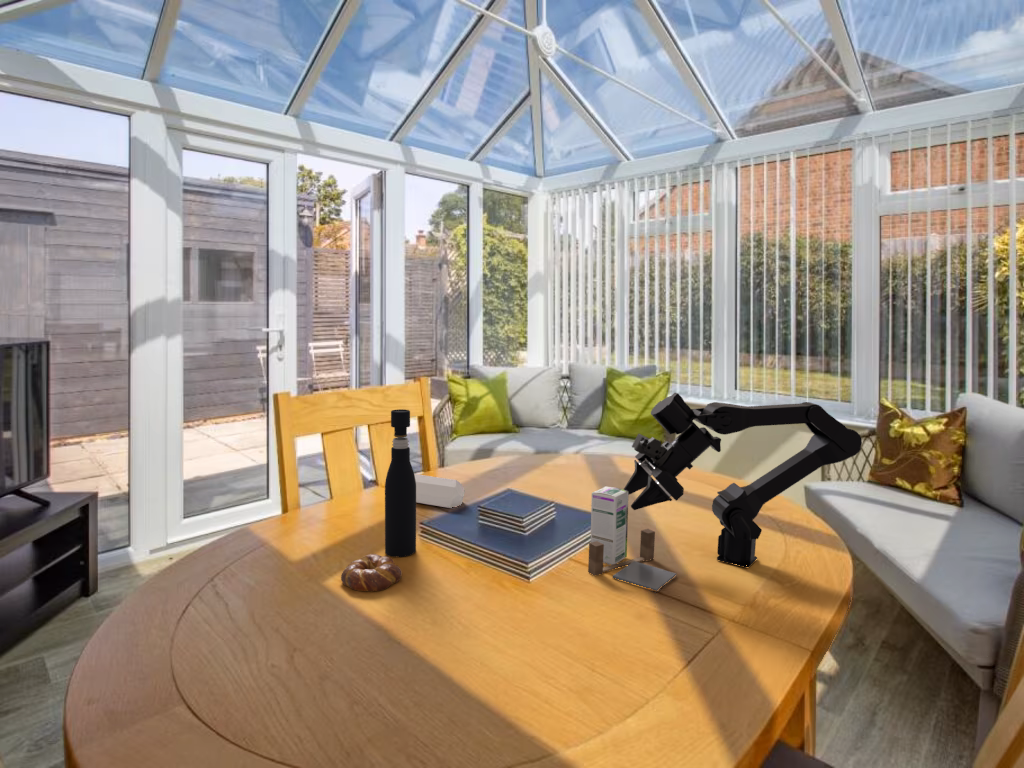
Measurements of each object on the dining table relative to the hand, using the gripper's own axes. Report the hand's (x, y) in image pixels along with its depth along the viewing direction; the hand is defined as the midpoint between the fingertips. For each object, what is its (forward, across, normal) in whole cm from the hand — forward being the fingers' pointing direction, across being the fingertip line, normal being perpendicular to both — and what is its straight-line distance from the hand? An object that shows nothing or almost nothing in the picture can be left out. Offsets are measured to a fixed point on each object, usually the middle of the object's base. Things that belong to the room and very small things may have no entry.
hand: (627, 501), depth 121 cm
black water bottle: (+42, -2, -24) cm, 49 cm away
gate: (+10, +4, +8) cm, 13 cm away
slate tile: (+7, +9, +10) cm, 15 cm away
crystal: (+42, -37, -24) cm, 61 cm away
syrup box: (+11, 0, +6) cm, 13 cm away
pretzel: (+45, +11, -26) cm, 53 cm away
